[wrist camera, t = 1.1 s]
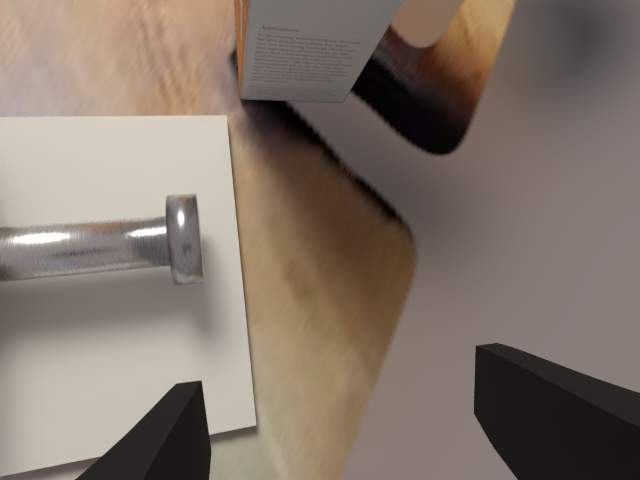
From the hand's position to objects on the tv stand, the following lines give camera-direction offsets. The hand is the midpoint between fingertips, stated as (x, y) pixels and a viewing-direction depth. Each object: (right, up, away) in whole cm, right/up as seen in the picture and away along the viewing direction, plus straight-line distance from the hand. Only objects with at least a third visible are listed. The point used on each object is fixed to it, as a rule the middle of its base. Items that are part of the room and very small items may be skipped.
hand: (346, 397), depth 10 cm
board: (-13, +2, +9) cm, 16 cm away
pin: (-12, +3, +8) cm, 15 cm away
